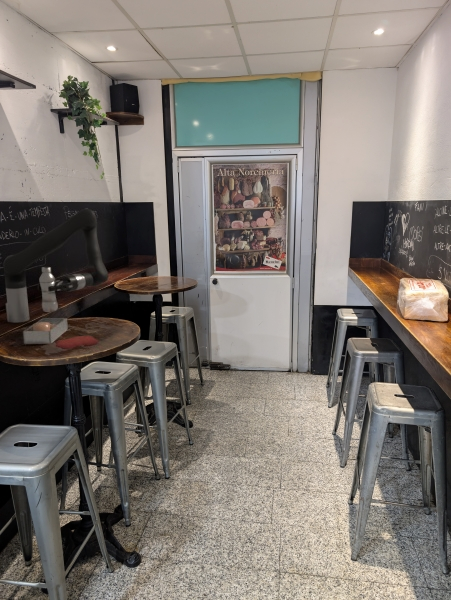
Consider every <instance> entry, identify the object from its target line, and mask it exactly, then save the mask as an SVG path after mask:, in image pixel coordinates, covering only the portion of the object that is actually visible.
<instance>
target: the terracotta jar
mask: <svg viewBox="0 0 451 600" xmlns="http://www.w3.org/2000/svg"><path fill="white" fill-rule="evenodd" d="M32 325H33V331H50V323H48V322H39V323H37V322H35V323H33V324H32Z"/></svg>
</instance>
